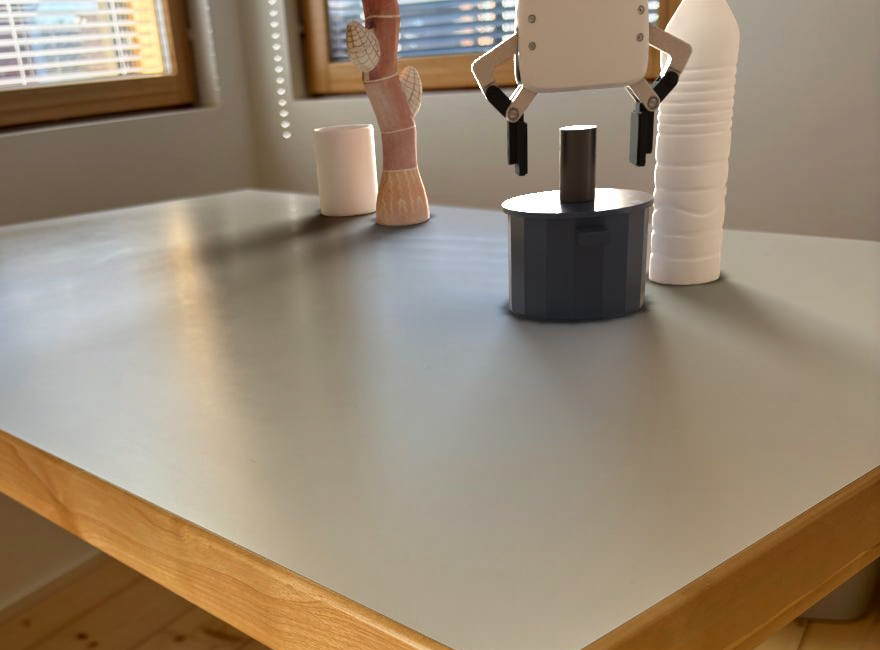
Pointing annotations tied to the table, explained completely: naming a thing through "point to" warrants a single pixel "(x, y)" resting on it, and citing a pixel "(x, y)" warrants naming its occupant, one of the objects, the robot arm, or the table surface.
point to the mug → (346, 169)
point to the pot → (577, 267)
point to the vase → (390, 111)
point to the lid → (578, 186)
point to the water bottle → (694, 147)
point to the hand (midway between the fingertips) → (579, 169)
